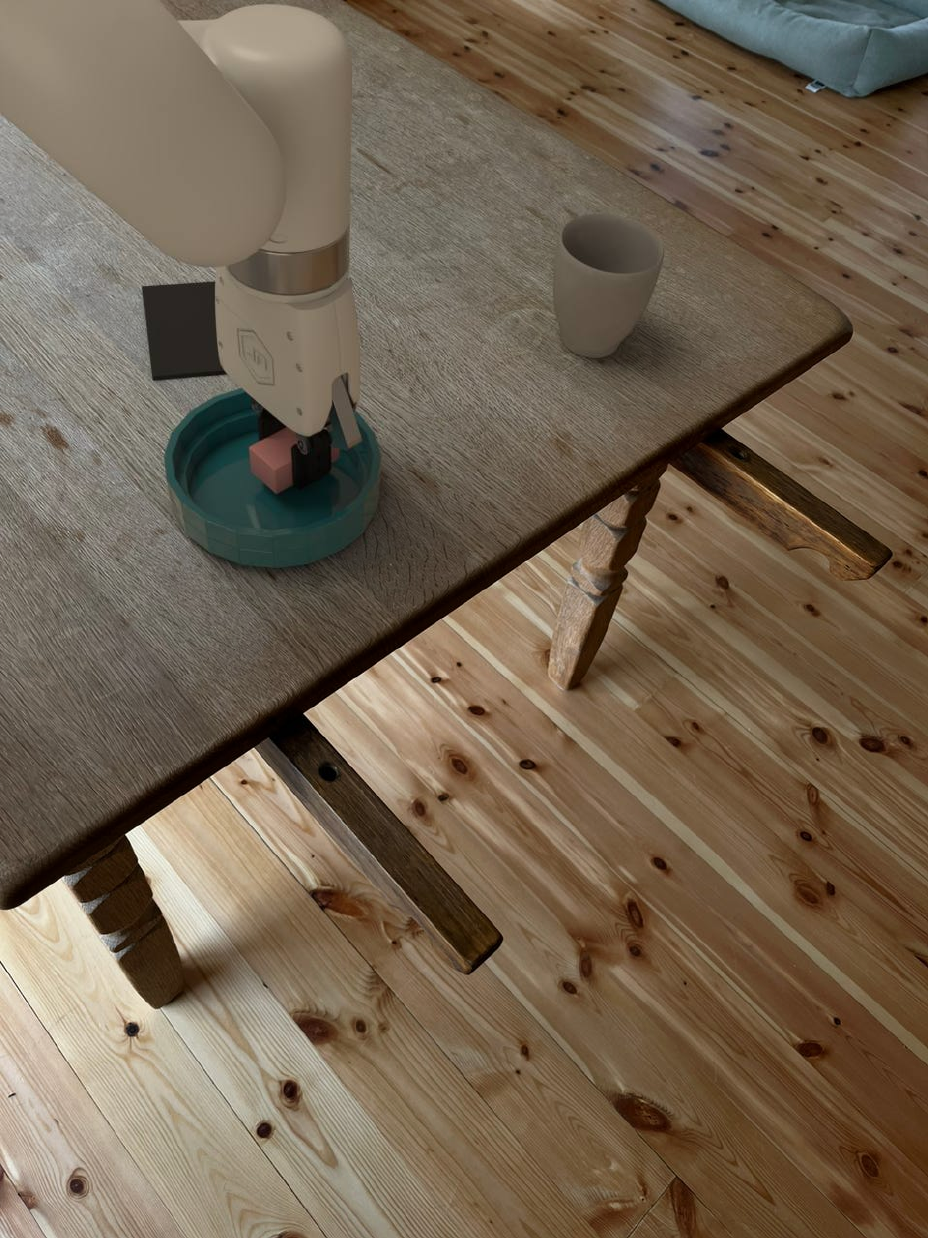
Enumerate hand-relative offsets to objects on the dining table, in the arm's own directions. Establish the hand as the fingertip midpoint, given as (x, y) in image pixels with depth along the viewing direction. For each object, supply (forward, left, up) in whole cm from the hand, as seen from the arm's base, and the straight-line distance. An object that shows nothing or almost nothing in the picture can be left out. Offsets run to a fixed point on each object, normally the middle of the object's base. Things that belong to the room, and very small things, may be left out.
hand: (295, 463), depth 75 cm
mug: (+28, +15, -2) cm, 32 cm away
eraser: (0, 0, 0) cm, 0 cm away
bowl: (-2, -1, -2) cm, 3 cm away
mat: (-2, +19, -2) cm, 19 cm away
